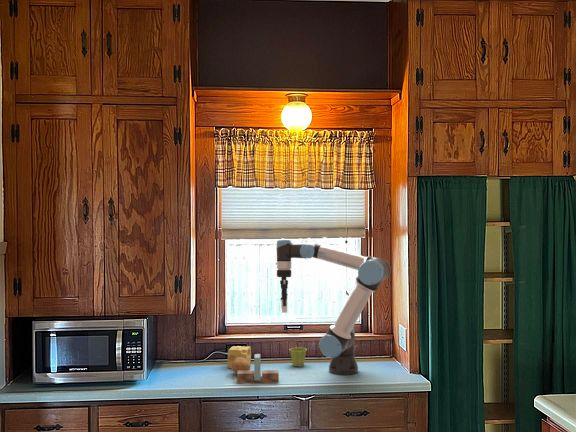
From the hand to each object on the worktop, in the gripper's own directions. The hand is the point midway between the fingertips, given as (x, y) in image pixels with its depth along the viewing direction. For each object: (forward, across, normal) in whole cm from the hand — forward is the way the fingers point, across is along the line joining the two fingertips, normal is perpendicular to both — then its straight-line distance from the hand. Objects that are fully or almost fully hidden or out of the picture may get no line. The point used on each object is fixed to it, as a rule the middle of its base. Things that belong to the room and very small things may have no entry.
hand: (284, 310), depth 339 cm
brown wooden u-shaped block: (+32, +18, -13) cm, 39 cm away
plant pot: (+32, -14, +8) cm, 36 cm away
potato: (+32, +4, -22) cm, 39 cm away
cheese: (+32, -13, -24) cm, 42 cm away
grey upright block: (+30, +18, -14) cm, 38 cm away
